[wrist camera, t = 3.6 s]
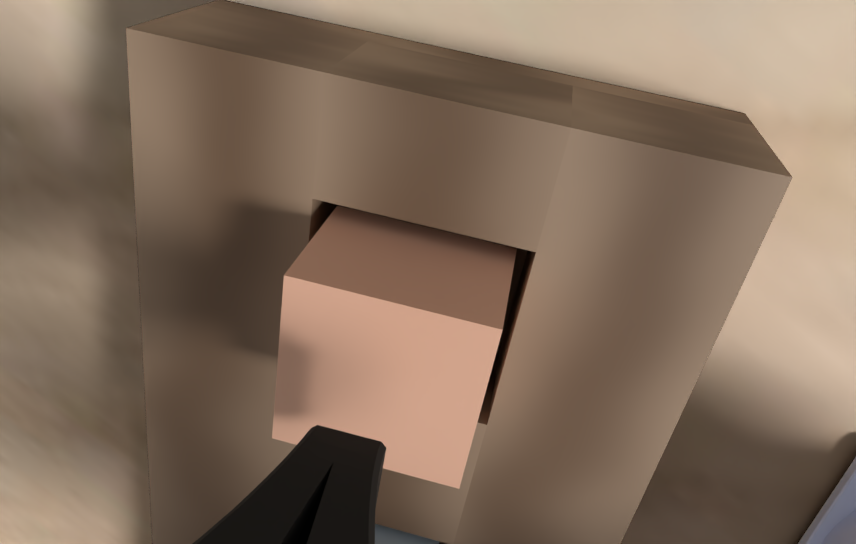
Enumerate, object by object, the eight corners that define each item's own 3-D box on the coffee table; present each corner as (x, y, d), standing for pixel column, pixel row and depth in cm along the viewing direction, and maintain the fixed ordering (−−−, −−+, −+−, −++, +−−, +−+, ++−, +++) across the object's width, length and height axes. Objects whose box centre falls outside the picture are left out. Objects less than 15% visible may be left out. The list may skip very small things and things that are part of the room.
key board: (745, 113, 17) (792, 177, 14) (487, 740, 33) (475, 853, 29) (220, -1, 19) (125, 27, 15) (210, 657, 34) (163, 755, 30)
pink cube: (517, 248, 16) (502, 330, 13) (479, 391, 18) (459, 488, 15) (337, 205, 17) (283, 275, 14) (321, 350, 19) (272, 438, 16)
